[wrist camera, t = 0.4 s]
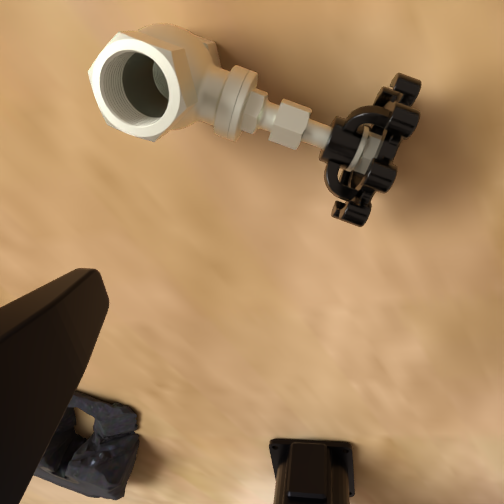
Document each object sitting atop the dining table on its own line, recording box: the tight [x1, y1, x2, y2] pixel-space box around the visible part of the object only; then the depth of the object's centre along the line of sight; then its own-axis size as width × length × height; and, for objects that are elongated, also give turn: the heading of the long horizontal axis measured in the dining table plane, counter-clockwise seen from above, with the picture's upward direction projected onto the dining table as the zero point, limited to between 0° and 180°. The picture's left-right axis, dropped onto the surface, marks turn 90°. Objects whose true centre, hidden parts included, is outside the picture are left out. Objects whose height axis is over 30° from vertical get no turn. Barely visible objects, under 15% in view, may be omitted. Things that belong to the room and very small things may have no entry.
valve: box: [88, 23, 421, 227], centre depth 18 cm, size 7×7×12 cm
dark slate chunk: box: [34, 391, 139, 500], centre depth 36 cm, size 15×22×5 cm
